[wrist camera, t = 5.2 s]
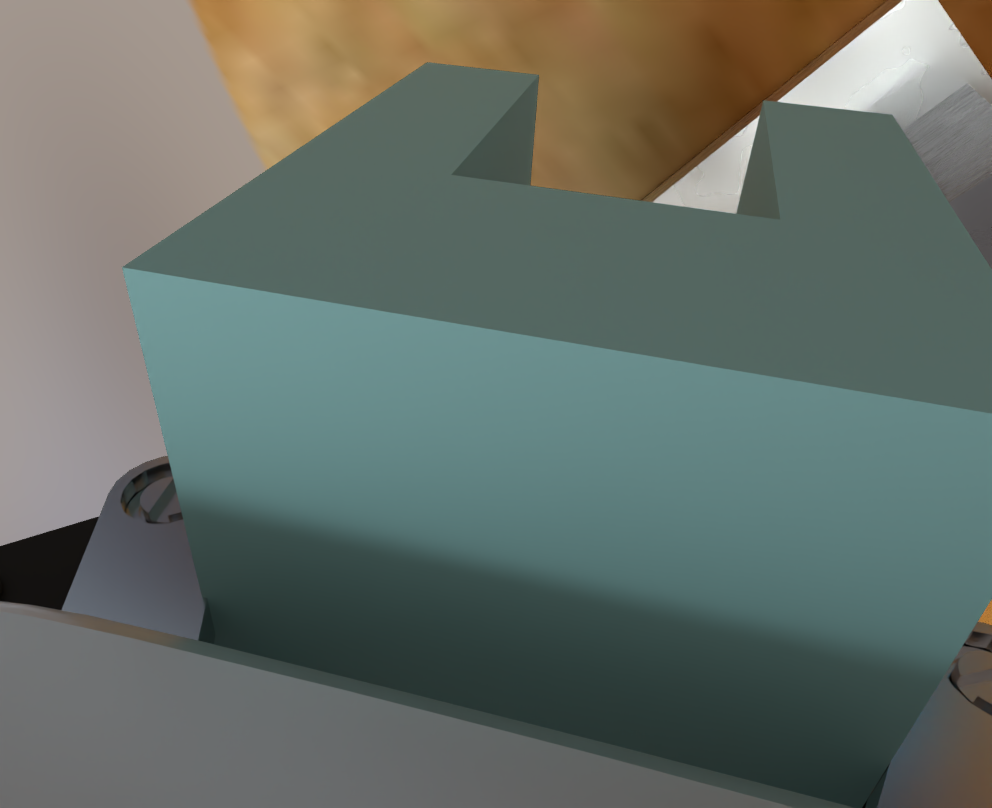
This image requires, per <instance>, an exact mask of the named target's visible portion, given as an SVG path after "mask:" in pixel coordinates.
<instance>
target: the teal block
mask: <svg viewBox="0 0 992 808" xmlns="http://www.w3.org/2000/svg"><path fill="white" fill-rule="evenodd" d="M538 82H539V75H535V74H526V73H517V72H508V71H499V70H490V69H482V68H473V67H464V66H455V65H446V64H437V63H428V62H427V63H425V64H424V65H422V66H421V67H419V68H418V69H416V70H415V71H413V72H412V73H411V74H409V75H408V76H406V77H405V78H403V79H402V80H400V81H399V82H397V83H396V84H394V85H393V86H391V87H390V88H388V89H387V90H385V91H384V92H382V93H381V94H379V95H378V96H376V97H375V98H373V99H372V100H370V101H369V102H367V103H366V104H364V105H363V106H361V107H360V108H358V109H357V110H355V111H354V112H353V113H351V114H350V115H348V116H347V117H345V118H344V119H342V120H341V121H339V122H338V123H336V124H335V125H333V126H332V127H330V128H329V129H327V130H326V131H324V132H323V133H321V134H320V135H318V136H317V137H315V138H314V139H312V140H311V141H309V142H308V143H306V144H305V145H303V146H302V147H300V148H299V149H297V150H296V151H294V152H293V153H292V154H290V155H289V156H287V157H286V158H284V159H283V160H281V161H280V162H278V163H277V164H275V165H274V166H272V167H271V168H269V169H268V170H266V171H265V172H263V173H262V174H260V175H259V176H258V177H256V178H254V179H253V180H251V181H250V182H249V183H247V184H245V185H244V186H243V187H241V188H239V189H238V190H236V191H235V192H234V193H232V194H231V195H229V196H228V197H226V198H225V199H223V200H222V201H220V202H219V203H217V204H216V205H214V206H213V207H211V208H210V209H208V210H207V211H205V212H204V213H202V214H201V215H199V216H198V217H196V218H195V219H194V220H192V221H190V222H189V223H187V224H186V225H184V226H183V227H181V228H180V229H179V230H177V231H175V232H174V233H173V234H171V235H170V236H168V237H167V238H165V239H164V240H162V241H161V242H159V243H158V244H156V245H155V246H153V247H152V248H150V249H149V250H147V251H146V252H144V253H143V254H141V255H140V256H138V257H137V258H135V259H134V260H132V261H131V262H129V263H128V264H126V265H125V266H123V268H122V269H123V273H124V277H125V281H126V285H127V289H128V293H129V298H130V302H131V306H132V310H133V314H134V318H135V323H136V327H137V331H138V335H139V339H140V343H141V347H142V351H143V356H144V360H145V364H146V368H147V372H148V376H149V380H150V384H151V388H152V392H153V397H154V400H155V405H156V409H157V413H158V417H159V421H160V426H161V429H162V434H163V438H164V442H165V446H166V450H167V454H168V459H169V463H170V467H171V471H172V475H173V479H174V483H175V487H176V492H177V496H178V500H179V504H180V508H181V512H182V516H183V520H184V525H185V529H186V533H187V537H188V541H189V545H190V549H191V553H192V558H193V562H194V566H195V570H196V574H197V578H198V582H199V586H200V591H201V595H202V597H205V598H207V599H208V603H209V608H210V612H211V617H212V621H213V625H214V630H215V634H216V635H215V640H214V645H218V646H222V647H226V648H231V649H235V650H239V651H243V652H247V653H251V654H255V655H259V656H263V657H267V658H271V659H275V660H279V661H283V662H287V663H291V664H295V665H299V666H303V667H307V668H311V669H315V670H319V671H323V672H327V673H331V674H335V675H339V676H343V677H347V678H351V679H355V680H359V681H363V682H367V683H371V684H375V685H379V686H383V687H387V688H391V689H395V690H399V691H403V692H407V693H411V694H415V695H419V696H423V697H427V698H431V699H435V700H439V701H442V702H446V703H450V704H454V705H458V706H462V707H466V708H470V709H474V710H478V711H482V712H486V713H490V714H494V715H498V716H502V717H506V718H509V719H513V720H517V721H521V722H525V723H529V724H533V725H537V726H541V727H545V728H549V729H553V730H556V731H560V732H564V733H568V734H572V735H576V736H580V737H584V738H588V739H592V740H596V741H599V742H603V743H607V744H611V745H615V746H619V747H623V748H627V749H631V750H635V751H638V752H642V753H646V754H650V755H654V756H658V757H662V758H665V759H669V760H673V761H677V762H681V763H685V764H688V765H692V766H696V767H700V768H704V769H708V770H712V771H715V772H719V773H723V774H727V775H731V776H735V777H738V778H742V779H746V780H750V781H754V782H758V783H762V784H765V785H769V786H773V787H777V788H781V789H785V790H788V791H792V792H796V793H800V794H804V795H808V796H812V797H815V798H819V799H823V800H827V801H831V802H835V803H838V804H842V805H846V806H850V807H853V808H862V807H863V805H864V804H865V802H866V801H867V799H868V797H869V796H870V794H871V793H872V791H873V789H874V788H875V786H876V784H877V783H878V781H879V780H880V778H881V776H882V775H883V773H884V772H885V770H886V768H887V767H888V765H889V764H890V762H891V760H892V759H893V757H894V755H895V754H896V752H897V751H898V749H899V747H900V746H901V744H902V743H903V741H904V739H905V738H906V736H907V735H908V733H909V731H910V730H911V728H912V726H913V725H914V723H915V722H916V720H917V718H918V717H919V715H920V714H921V712H922V710H923V709H924V707H925V706H926V704H927V702H928V701H929V699H930V697H931V696H932V694H933V693H934V691H935V689H936V688H937V686H938V685H939V683H940V681H941V680H942V678H943V677H944V675H945V673H946V672H947V670H948V668H949V667H950V665H951V664H952V662H953V660H954V659H955V657H956V656H957V654H958V652H959V651H960V649H961V647H962V646H963V644H964V643H965V641H966V639H967V638H968V636H969V635H970V633H971V631H972V630H973V628H974V627H975V625H976V623H977V622H978V620H979V618H980V617H981V615H982V614H983V612H984V610H985V609H986V607H987V606H988V604H989V602H990V601H991V599H992V269H991V267H990V266H989V264H988V263H987V261H986V260H985V258H984V257H983V255H982V253H981V252H980V250H979V249H978V247H977V246H976V244H975V243H974V241H973V239H972V238H971V236H970V235H969V233H968V232H967V230H966V229H965V227H964V225H963V224H962V222H961V221H960V219H959V218H958V216H957V215H956V213H955V211H954V210H953V208H952V207H951V205H950V204H949V202H948V201H947V199H946V197H945V196H944V194H943V193H942V191H941V190H940V188H939V187H938V185H937V183H936V182H935V180H934V179H933V177H932V176H931V174H930V173H929V171H928V169H927V168H926V166H925V165H924V163H923V162H922V160H921V158H920V157H919V155H918V154H917V152H916V151H915V149H914V148H913V146H912V144H911V143H910V141H909V140H908V138H907V137H906V135H905V134H904V132H903V130H902V129H901V127H900V126H899V124H898V123H897V121H896V120H895V118H894V116H893V115H890V114H881V113H872V112H863V111H854V110H845V109H837V108H828V107H819V106H810V105H801V104H792V103H783V102H774V101H766V100H763V104H762V108H761V112H760V116H759V120H758V124H757V129H756V133H755V137H754V141H753V145H752V149H751V154H750V158H749V162H748V166H747V170H746V174H745V179H744V183H743V187H742V191H741V195H740V199H739V204H738V208H737V212H736V214H734V213H727V212H720V211H712V210H705V209H698V208H690V207H683V206H676V205H668V204H661V203H654V202H646V201H639V200H632V199H624V198H617V197H610V196H602V195H595V194H588V193H580V192H573V191H566V190H558V189H551V188H544V187H536V186H530V182H531V170H532V157H533V145H534V132H535V120H536V107H537V95H538Z"/></svg>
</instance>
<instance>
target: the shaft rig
mask: <svg viewBox="0 0 992 808" xmlns="http://www.w3.org/2000/svg"><path fill="white" fill-rule="evenodd" d="M765 100H766V101H774V102H783V103H792V104H801V105H810V106H819V107H828V108H837V109H845V110H854V111H863V112H872V113H881V114H890V115H893V116H894V118H895V120H896V121H897V123H898V124H899V126H900V127H901V129H902V130H903V132H904V134H905V135H906V137H907V138H908V140H909V141H910V143H911V144H912V146H913V148H914V149H915V151H916V152H917V154H918V155H919V157H920V158H921V160H922V162H923V163H924V165H925V166H926V168H927V169H928V171H929V173H930V174H931V176H932V177H933V179H934V180H935V182H936V183H937V185H938V187H939V188H940V190H941V191H942V193H943V194H944V196H945V197H946V199H947V201H948V202H949V204H950V205H951V207H952V208H953V210H954V211H955V213H956V215H957V216H958V218H959V219H960V221H961V222H962V224H963V225H964V227H965V229H966V230H967V232H968V233H969V235H970V236H971V238H972V239H973V241H974V243H975V244H976V246H977V247H978V249H979V250H980V252H981V253H982V255H983V257H984V258H985V260H986V261H987V263H988V264H989V266H990V267H991V269H992V79H991V78H990V76H989V75H988V73H987V72H986V70H985V69H984V67H983V66H982V64H981V63H980V62H979V60H978V59H977V57H976V56H975V54H974V53H973V51H972V50H971V48H970V47H969V45H968V44H967V42H966V41H965V39H964V38H963V37H962V35H961V34H960V32H959V31H958V29H957V28H956V26H955V25H954V23H953V22H952V20H951V19H950V17H949V16H948V14H947V13H946V12H945V10H944V9H943V7H942V6H941V4H940V3H939V1H938V0H887V1H886V2H884V3H883V4H882V5H881V6H880V7H878V8H877V9H876V10H875V11H873V12H872V13H871V14H870V15H868V16H867V17H866V18H865V19H864V20H862V21H861V22H860V23H859V24H857V25H856V26H855V27H854V28H852V29H851V30H850V31H849V32H848V33H846V34H845V35H844V36H843V37H841V38H840V39H839V40H838V41H837V42H835V43H834V44H833V45H832V46H830V47H829V48H828V49H827V50H825V51H824V52H823V53H822V54H821V55H819V56H818V57H817V58H816V59H814V60H813V61H812V62H811V63H810V64H808V65H807V66H806V67H805V68H803V69H802V70H801V71H800V72H798V73H797V74H796V75H795V76H794V77H792V78H791V79H790V80H789V81H787V82H786V83H785V84H784V85H783V86H781V87H780V88H779V89H778V90H776V91H775V92H774V93H773V94H771V95H770V96H769V97H768V98H767V99H765ZM762 104H763V102H762V103H760V104H759V105H758V106H757V107H756V108H754V109H753V110H752V111H751V112H749V113H748V114H747V115H746V116H744V117H743V118H742V119H741V120H740V121H738V122H737V123H736V124H735V125H733V126H732V127H731V128H730V129H729V130H727V131H726V132H725V133H724V134H722V135H721V136H720V137H719V138H717V139H716V140H715V141H714V142H713V143H711V144H710V145H709V146H708V147H706V148H705V149H704V150H703V151H702V152H700V153H699V154H698V155H697V156H695V157H694V158H693V159H692V160H690V161H689V162H688V163H687V164H686V165H684V166H683V167H682V168H681V169H679V170H678V171H677V172H676V173H675V174H673V175H672V176H671V177H670V178H668V179H667V180H666V181H665V182H663V183H662V184H661V185H660V186H659V187H657V188H656V189H655V190H654V191H652V192H651V193H650V194H649V195H647V196H646V197H645V198H644V199H643V200H641V201H646V202H654V203H661V204H668V205H676V206H683V207H690V208H698V209H705V210H712V211H720V212H727V213H734V214H736V212H737V208H738V204H739V199H740V195H741V191H742V187H743V183H744V179H745V174H746V170H747V166H748V162H749V158H750V154H751V149H752V145H753V141H754V137H755V133H756V129H757V124H758V120H759V116H760V112H761V108H762Z"/></svg>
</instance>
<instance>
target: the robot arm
mask: <svg viewBox="0 0 992 808" xmlns="http://www.w3.org/2000/svg"><path fill="white" fill-rule="evenodd" d="M215 635H216V634H215V630H214V625H213V621H212V617H211V612H210V608H209V603H208V599H207V598H205V597H202V595H201V591H200V586H199V582H198V578H197V574H196V570H195V566H194V562H193V558H192V553H191V549H190V545H189V541H188V537H187V533H186V529H185V525H184V520H183V516H182V512H181V508H180V504H179V500H178V496H177V492H176V487H175V483H174V479H173V475H172V471H171V467H170V463H169V459H168V456H163V457H160V458H157V459H154V460H150V461H147V462H145V463H143V464H141V465H139V466H137V467H135V468H133V469H131V470H129V471H128V472H127V473H126V474H125V475H123V476H122V477H121V478H120V479H119V480H117V481H116V483H115V484H114V486H113V487H112V489H111V491H110V492H109V494H108V496H107V499H106V501H105V504H104V506H103V508H102V511H101V514H100V516H99V517H96V518H93V519H89V520H86V521H83V522H79V523H76V524H73V525H69V526H66V527H63V528H59V529H56V530H53V531H49V532H46V533H43V534H40V535H36V536H33V537H29V538H26V539H23V540H19V541H16V542H13V543H10V544H6V545H3V546H0V808H853V807H850V806H846V805H842V804H838V803H835V802H831V801H827V800H823V799H819V798H815V797H812V796H808V795H804V794H800V793H796V792H792V791H788V790H785V789H781V788H777V787H773V786H769V785H765V784H762V783H758V782H754V781H750V780H746V779H742V778H738V777H735V776H731V775H727V774H723V773H719V772H715V771H712V770H708V769H704V768H700V767H696V766H692V765H688V764H685V763H681V762H677V761H673V760H669V759H665V758H662V757H658V756H654V755H650V754H646V753H642V752H638V751H635V750H631V749H627V748H623V747H619V746H615V745H611V744H607V743H603V742H599V741H596V740H592V739H588V738H584V737H580V736H576V735H572V734H568V733H564V732H560V731H556V730H553V729H549V728H545V727H541V726H537V725H533V724H529V723H525V722H521V721H517V720H513V719H509V718H506V717H502V716H498V715H494V714H490V713H486V712H482V711H478V710H474V709H470V708H466V707H462V706H458V705H454V704H450V703H446V702H442V701H439V700H435V699H431V698H427V697H423V696H419V695H415V694H411V693H407V692H403V691H399V690H395V689H391V688H387V687H383V686H379V685H375V684H371V683H367V682H363V681H359V680H355V679H351V678H347V677H343V676H339V675H335V674H331V673H327V672H323V671H319V670H315V669H311V668H307V667H303V666H299V665H295V664H291V663H287V662H283V661H279V660H275V659H271V658H267V657H263V656H259V655H255V654H251V653H247V652H243V651H239V650H235V649H231V648H226V647H222V646H218V645H214V640H215ZM862 808H992V625H989V624H986V623H982V622H977V623H976V625H975V627H974V628H973V630H972V631H971V633H970V635H969V636H968V638H967V639H966V641H965V643H964V644H963V646H962V647H961V649H960V651H959V652H958V654H957V656H956V657H955V659H954V660H953V662H952V664H951V665H950V667H949V668H948V670H947V672H946V673H945V675H944V677H943V678H942V680H941V681H940V683H939V685H938V686H937V688H936V689H935V691H934V693H933V694H932V696H931V697H930V699H929V701H928V702H927V704H926V706H925V707H924V709H923V710H922V712H921V714H920V715H919V717H918V718H917V720H916V722H915V723H914V725H913V726H912V728H911V730H910V731H909V733H908V735H907V736H906V738H905V739H904V741H903V743H902V744H901V746H900V747H899V749H898V751H897V752H896V754H895V755H894V757H893V759H892V760H891V762H890V764H889V765H888V767H887V768H886V770H885V772H884V773H883V775H882V776H881V778H880V780H879V781H878V783H877V784H876V786H875V788H874V789H873V791H872V793H871V794H870V796H869V797H868V799H867V801H866V802H865V804H864V805H863V807H862Z"/></svg>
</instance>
